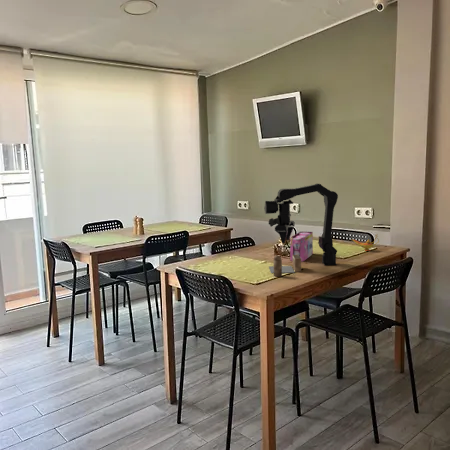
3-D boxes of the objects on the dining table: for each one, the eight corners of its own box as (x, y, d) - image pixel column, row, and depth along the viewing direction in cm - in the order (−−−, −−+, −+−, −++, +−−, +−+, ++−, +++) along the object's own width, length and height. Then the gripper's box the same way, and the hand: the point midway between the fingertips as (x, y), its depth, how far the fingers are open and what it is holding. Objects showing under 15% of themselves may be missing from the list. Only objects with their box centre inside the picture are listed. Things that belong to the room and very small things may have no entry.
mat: (291, 266, 241) (291, 265, 241) (294, 272, 227) (294, 272, 227) (268, 267, 241) (268, 266, 241) (270, 273, 228) (270, 272, 228)
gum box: (303, 262, 251) (302, 238, 249) (289, 261, 254) (289, 237, 252) (313, 253, 272) (313, 231, 270) (300, 253, 276) (300, 231, 274)
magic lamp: (352, 248, 284) (352, 231, 282) (380, 251, 273) (381, 233, 271) (347, 250, 278) (348, 232, 277) (376, 253, 267) (377, 235, 266)
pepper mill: (281, 274, 224) (281, 254, 223) (282, 276, 221) (281, 256, 219) (273, 275, 225) (273, 254, 223) (274, 277, 221) (273, 256, 219)
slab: (298, 267, 239) (298, 254, 238) (301, 272, 229) (301, 258, 228) (292, 267, 239) (292, 254, 238) (295, 272, 229) (294, 258, 228)
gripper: (274, 210, 249) (275, 238, 252) (264, 215, 232) (265, 244, 235) (294, 210, 245) (295, 238, 247) (285, 215, 228) (286, 245, 230)
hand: (285, 241), depth 240 cm, fingers open, 9 cm apart
